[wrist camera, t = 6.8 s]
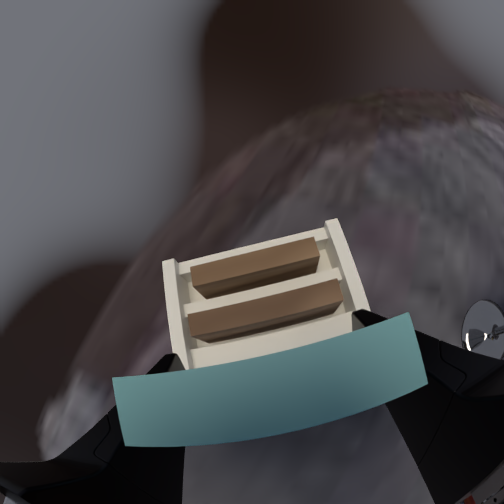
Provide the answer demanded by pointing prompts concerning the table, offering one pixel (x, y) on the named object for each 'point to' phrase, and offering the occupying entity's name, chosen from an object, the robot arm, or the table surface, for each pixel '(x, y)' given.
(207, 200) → the table surface
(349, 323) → the offcut rack
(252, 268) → the walnut offcut
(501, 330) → the wine glass
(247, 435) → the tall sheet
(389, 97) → the table surface
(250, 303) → the walnut offcut
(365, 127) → the table surface
